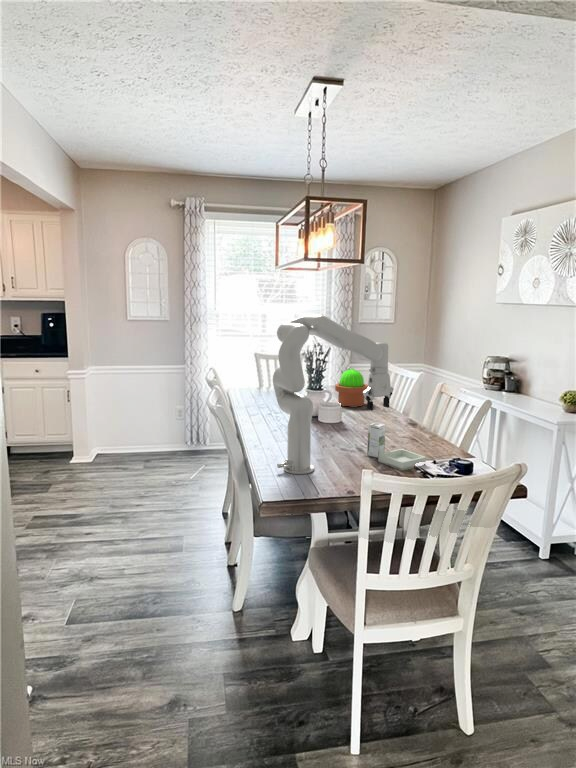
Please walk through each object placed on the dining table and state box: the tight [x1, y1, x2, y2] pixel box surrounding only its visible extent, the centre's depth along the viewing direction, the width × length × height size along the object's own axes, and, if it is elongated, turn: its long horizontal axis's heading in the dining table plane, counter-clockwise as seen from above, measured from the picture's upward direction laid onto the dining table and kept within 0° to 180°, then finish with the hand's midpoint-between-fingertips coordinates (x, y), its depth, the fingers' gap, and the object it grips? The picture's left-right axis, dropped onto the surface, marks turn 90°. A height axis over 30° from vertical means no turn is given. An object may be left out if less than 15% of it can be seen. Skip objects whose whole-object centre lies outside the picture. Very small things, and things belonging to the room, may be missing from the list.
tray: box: [378, 448, 427, 472], centre depth 205 cm, size 14×14×4 cm
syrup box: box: [366, 422, 387, 459], centre depth 215 cm, size 6×6×14 cm
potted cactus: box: [334, 368, 368, 407], centre depth 321 cm, size 22×22×25 cm
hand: (378, 408), depth 212 cm, fingers open, 9 cm apart
